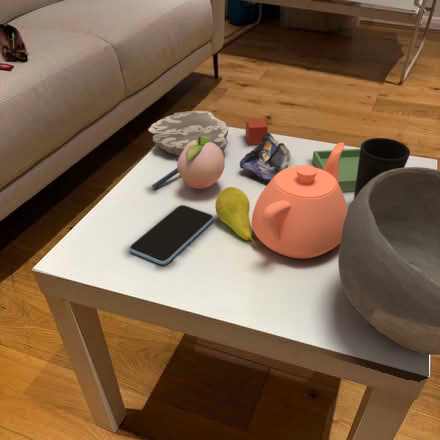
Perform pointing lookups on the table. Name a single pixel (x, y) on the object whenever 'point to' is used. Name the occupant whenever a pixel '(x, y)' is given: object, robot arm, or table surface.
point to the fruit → (235, 211)
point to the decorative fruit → (201, 163)
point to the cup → (379, 159)
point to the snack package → (267, 158)
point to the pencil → (165, 179)
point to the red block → (255, 131)
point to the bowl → (396, 256)
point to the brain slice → (188, 130)
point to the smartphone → (171, 234)
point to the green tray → (341, 166)
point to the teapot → (302, 210)
